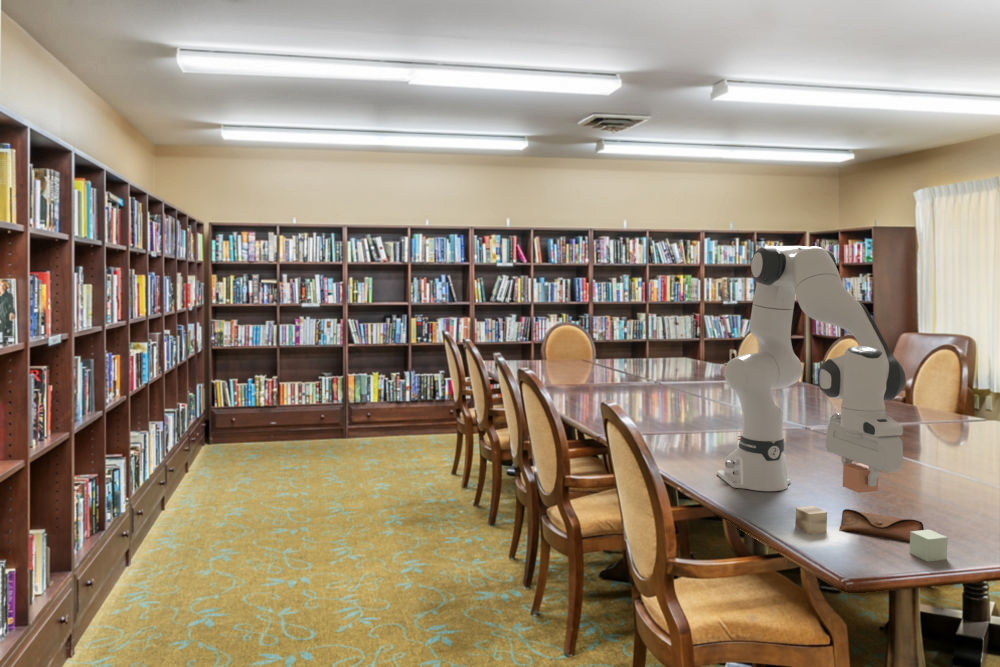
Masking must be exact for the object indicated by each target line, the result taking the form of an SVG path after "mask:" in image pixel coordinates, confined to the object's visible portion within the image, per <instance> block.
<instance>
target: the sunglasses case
mask: <svg viewBox="0 0 1000 667" xmlns="http://www.w3.org/2000/svg"><path fill="white" fill-rule="evenodd" d="M920 530H925V529H924V524H923V522H922V521H920V520H917V519H911V518H910V519H909V518H899V517H893V516H890V515H889V516H887V515H884V514H883V515H881V514H876V513H869V512H861V511H859V510H858V511H857V510H855V509H848V508H845V509H843V510H842V513H841V522H840V526H839V530H838V532H843V533H851V534H858V535H864V536H871V537H877V538H882V537H883V539H887V538H888V540H893V541H894V540H895V541H900V542H905V543H909V544H910V531H920Z"/></svg>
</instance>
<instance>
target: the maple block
mask: <svg viewBox="0 0 1000 667" xmlns="http://www.w3.org/2000/svg"><path fill="white" fill-rule="evenodd" d="M794 525H795V528H796V529H798V530H799V531H802V532H803V533H805V534H807V535H813V534H816V535H817V534H821V533H822V534H824V533H827V532H828V531H827V530H828V528H827V526H828V511H825V510H823V509H821V508H819V507H816V506H814V505H810V506H800V507H799V506H798V507H795V524H794Z"/></svg>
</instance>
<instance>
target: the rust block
mask: <svg viewBox="0 0 1000 667" xmlns="http://www.w3.org/2000/svg"><path fill="white" fill-rule="evenodd" d="M842 466H843V468H842V469H843V470H842V487H844V488H846V489H848V490H850V491H853V492H855V493H859V494H861V493H870V492H878V491H879V490H878V489H879V477H878V478H877V484H876V486H868V485H866V484H865V477H868V476H869V474H870V472H871V471H869V466H867V465H864V464H861V463H859V462H856V463H852V464H845V465H843V464H842Z"/></svg>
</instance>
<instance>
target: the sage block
mask: <svg viewBox="0 0 1000 667" xmlns="http://www.w3.org/2000/svg"><path fill="white" fill-rule="evenodd" d="M909 554H911V555H912V556H915V557H917V558H919V559H920V560H923V561H926V562H934V561H943V560H947V559H948V536H946V535H943V534H940V533H938V532H936V531H934V530H931V529H924V530H920V531H910V543H909Z"/></svg>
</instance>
